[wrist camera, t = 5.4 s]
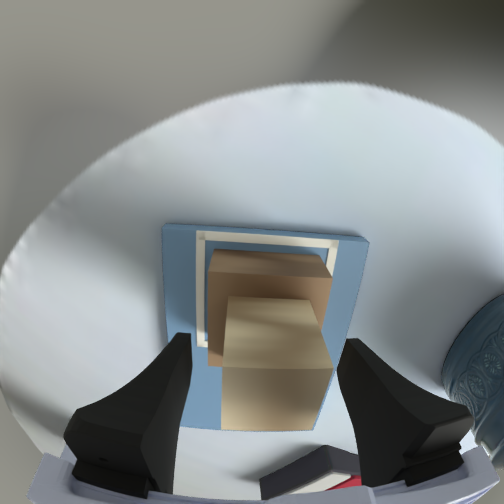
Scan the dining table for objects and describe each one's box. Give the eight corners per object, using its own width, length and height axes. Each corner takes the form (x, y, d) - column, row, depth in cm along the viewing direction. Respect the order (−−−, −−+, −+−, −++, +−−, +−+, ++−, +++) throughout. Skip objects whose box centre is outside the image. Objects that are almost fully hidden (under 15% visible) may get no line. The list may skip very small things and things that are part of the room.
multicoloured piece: (336, 511, 30) (260, 506, 25) (331, 489, 34) (257, 478, 29) (399, 480, 27) (333, 475, 22) (390, 457, 31) (324, 442, 26)
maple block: (225, 357, 16) (220, 429, 11) (228, 295, 14) (222, 366, 10) (296, 360, 16) (311, 429, 11) (309, 300, 15) (333, 368, 10)
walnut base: (212, 335, 19) (207, 366, 16) (214, 248, 17) (207, 271, 14) (303, 338, 19) (311, 369, 16) (319, 255, 17) (332, 278, 14)
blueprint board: (181, 418, 24) (179, 427, 23) (165, 223, 17) (161, 228, 16) (311, 422, 24) (313, 431, 23) (363, 237, 18) (370, 243, 17)
